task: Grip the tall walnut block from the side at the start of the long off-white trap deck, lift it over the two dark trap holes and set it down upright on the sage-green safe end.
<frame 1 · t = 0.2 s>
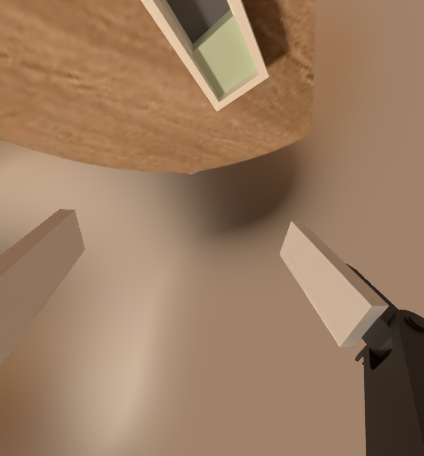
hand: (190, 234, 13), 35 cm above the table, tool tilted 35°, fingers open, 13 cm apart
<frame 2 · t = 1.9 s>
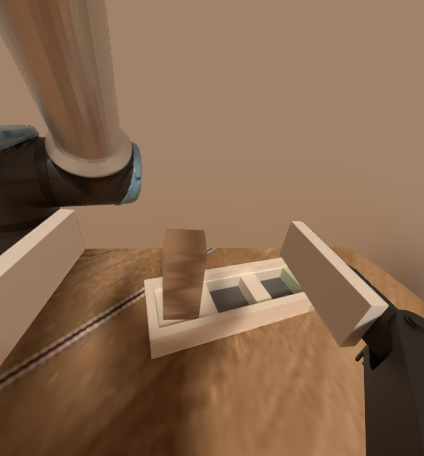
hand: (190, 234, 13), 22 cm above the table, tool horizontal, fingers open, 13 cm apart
walnut block: (181, 304, 30), point 3 cm above the table, touching trap deck
trap deck: (250, 300, 36), on the table
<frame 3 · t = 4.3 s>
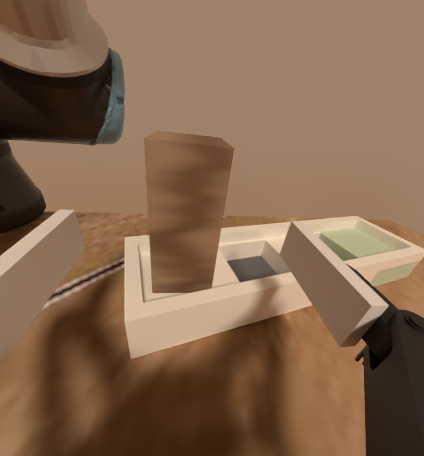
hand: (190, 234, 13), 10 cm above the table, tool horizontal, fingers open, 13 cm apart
walnut block: (182, 272, 19), point 3 cm above the table, touching trap deck
trap deck: (281, 273, 25), on the table
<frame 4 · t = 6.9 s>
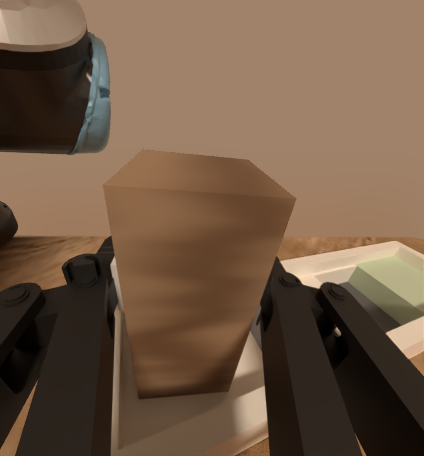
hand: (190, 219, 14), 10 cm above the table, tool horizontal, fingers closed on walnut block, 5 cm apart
walnut block: (185, 349, 13), point 3 cm above the table, touching gripper, trap deck
trap deck: (314, 326, 19), on the table
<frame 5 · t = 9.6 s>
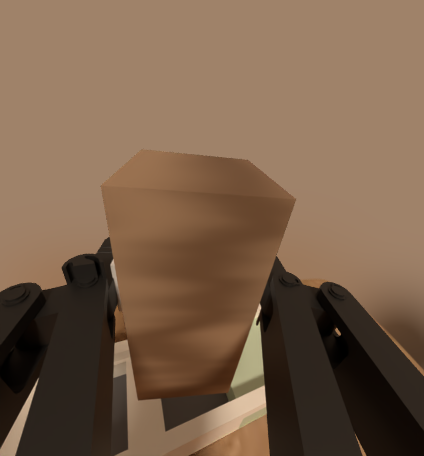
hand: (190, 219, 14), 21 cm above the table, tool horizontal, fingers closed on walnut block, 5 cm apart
walnut block: (184, 350, 13), point 14 cm above the table, touching gripper
trap deck: (140, 407, 21), on the table
when the fingers open (11 cm above the table, at t = 12.7 s): walnut block drops 1 cm, resting on trap deck.
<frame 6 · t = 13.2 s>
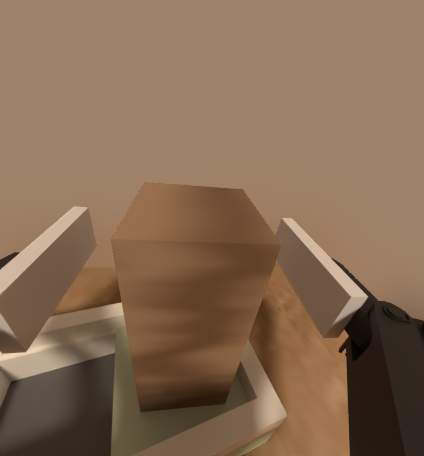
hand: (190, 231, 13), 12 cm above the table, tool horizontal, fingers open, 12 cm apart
walnut block: (184, 362, 14), point 3 cm above the table, touching trap deck
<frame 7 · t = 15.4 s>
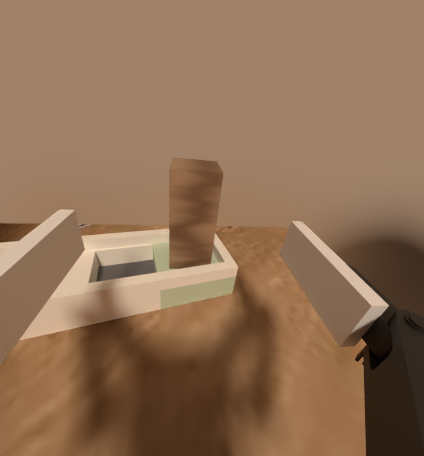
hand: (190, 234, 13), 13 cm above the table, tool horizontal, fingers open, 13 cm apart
walnut block: (189, 256, 26), point 3 cm above the table, touching trap deck
trap deck: (76, 291, 23), on the table
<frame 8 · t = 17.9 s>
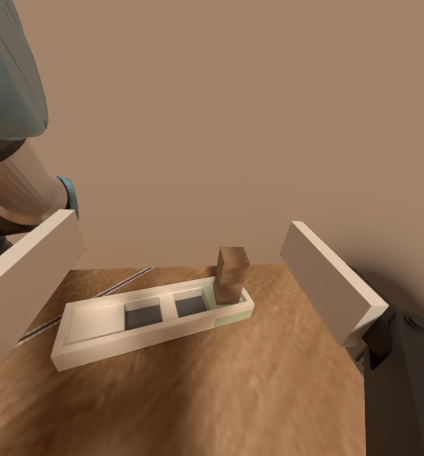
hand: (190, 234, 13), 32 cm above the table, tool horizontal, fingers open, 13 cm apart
walnut block: (225, 295, 46), point 3 cm above the table, touching trap deck
trap deck: (166, 317, 42), on the table
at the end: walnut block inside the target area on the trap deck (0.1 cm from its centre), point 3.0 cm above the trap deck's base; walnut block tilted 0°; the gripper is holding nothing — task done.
